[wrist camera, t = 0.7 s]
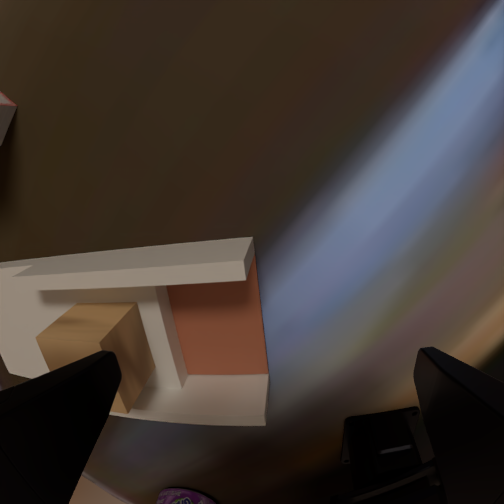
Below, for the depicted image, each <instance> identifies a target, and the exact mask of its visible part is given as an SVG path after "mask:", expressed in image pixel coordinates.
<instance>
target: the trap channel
mask: <svg viewBox="0 0 504 504" xmlns="http://www.w3.org/2000/svg"><path fill="white" fill-rule="evenodd" d="M116 302H137V304H138V308H139V311H140V315H141V319H142V323H143V326H144V330H145V333H146V337H147V340H148V343H149V347H150V350H151V353H152V357H153V360H154V363H155V366H156V367H155V369H154V370H153V372H152V374H151V376H150V377H149V379H148V381H147V382H146V384H145V386H144V387H143V389H142V391H141V393H140V394H139V396H138V398H137V400H136V401H135V403H134V405H133V406H132V408H131V410H130V412H129V413H128V414H124V413H117V412H111V411H110V413H109V414H110V415H116V416H122V417H129V418H136V419H144V420H153V421H162V422H172V423H184V424H199V425H221V426H266V418H267V408H268V398H269V387H270V379H269V370H268V362H267V353H266V344H265V336H264V327H263V319H262V310H261V301H260V293H259V284H258V276H257V267H256V259H255V250H254V242H253V237H245V238H233V239H222V240H211V241H201V242H190V243H180V244H169V245H159V246H149V247H139V248H129V249H119V250H109V251H100V252H90V253H81V254H72V255H62V256H53V257H44V258H36V259H27V260H18V261H10V262H1V263H0V354H1V356H2V358H3V361H4V363H5V365H6V367H7V369H8V371H9V373H11V374H15V375H19V376H23V377H27V378H32V379H33V378H35V377H38V376H40V375H43V374H45V373H48V372H50V371H49V369H48V366H47V364H46V362H45V360H44V357H43V355H42V353H41V350H40V348H39V346H38V343H37V341H36V338H35V337H36V336H37V335H39V334H40V333H41V332H42V331H43V330H45V329H46V328H47V327H48V326H49V325H51V324H52V323H53V322H54V321H55V320H57V319H58V318H59V317H60V316H62V315H63V314H64V313H65V312H67V311H68V310H69V309H70V308H71V307H73V306H74V305H75V304H76V303H116Z"/></svg>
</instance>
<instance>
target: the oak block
mask: <svg viewBox="0 0 504 504" xmlns="http://www.w3.org/2000/svg"><path fill="white" fill-rule="evenodd" d="M35 338H36V341H37V343H38V346H39V348H40V350H41V353H42V355H43V357H44V360H45V362H46V364H47V366H48V369H49V371H53V370H55V369H58V368H60V367H63V366H65V365H67V364H70V363H72V362H75V361H77V360H80V359H82V358H84V357H87V356H89V355H91V354H94V353H96V352H99V351H101V350H108V351H113V352H114V353H115V354H116V356H117V360H118V363H119V366H120V369H121V372H122V380H121V383H120V385H119V388H118V391H117V394H116V396H115V399H114V402H113V405H112V408H111V412H117V413H124V414H128V413H129V412H130V410H131V408H132V406H133V405H134V403H135V401H136V400H137V398H138V396H139V394H140V393H141V391H142V389H143V387H144V386H145V384H146V382H147V381H148V379H149V377H150V376H151V374H152V372H153V370H154V369H155V367H156V366H155V363H154V360H153V357H152V353H151V350H150V347H149V343H148V340H147V337H146V333H145V330H144V326H143V323H142V319H141V315H140V311H139V308H138V304H137V302H116V303H76V304H75V305H74V306H73V307H71V308H70V309H69V310H68V311H67V312H65V313H64V314H63V315H62V316H60V317H59V318H58V319H57V320H55V321H54V322H53V323H52V324H51V325H49V326H48V327H47V328H46V329H45V330H43V331H42V332H41V333H40V334H39V335H37V336H36V337H35Z"/></svg>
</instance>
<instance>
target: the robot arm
mask: <svg viewBox="0 0 504 504" xmlns="http://www.w3.org/2000/svg"><path fill="white" fill-rule="evenodd" d="M121 380H122V372H121V369H120V366H119V363H118V360H117V356H116V354H115V353H114V352H113V351H108V350H101V351H99V352H96V353H94V354H91V355H89V356H87V357H84V358H82V359H80V360H77V361H75V362H72V363H70V364H67V365H65V366H63V367H60V368H58V369H55V370H53V371H50V372H48V373H45V374H43V375H40V376H38V377H35V378H33V379H30V380H28V381H25V382H23V383H20V384H18V385H16V386H13V387H10V388H8V389H5V390H2V391H0V504H69V501H70V499H71V497H72V495H73V492H74V490H75V488H76V486H77V483H78V481H79V479H80V476H81V474H82V472H83V470H84V468H85V465H86V463H87V461H88V459H89V457H90V454H91V452H92V450H93V448H94V446H95V444H96V442H97V439H98V437H99V435H100V433H101V431H102V429H103V427H104V425H105V423H106V420H107V418H108V416H109V413H110V411H111V408H112V405H113V402H114V399H115V396H116V394H117V391H118V388H119V385H120V383H121ZM414 382H415V386H416V390H417V395H418V399H419V403H420V408H421V412H422V417H423V421H424V424H425V427H426V430H427V433H428V436H429V439H430V442H431V445H432V448H433V452H434V455H435V457H434V458H432V460H430V461H428V462H426V463H424V464H422V461H421V458H420V455H419V452H418V449H417V446H416V443H415V440H414V437H413V434H414V431H415V428H416V424H417V421H418V418H419V414H420V410H419V408H418V407H410V408H404V409H399V410H393V411H387V412H381V413H375V414H368V415H360V416H353V417H348V418H347V419H346V420H345V425H344V435H343V445H342V453H341V463H342V464H350V465H351V473H352V480H353V488H354V491H351V492H348V493H345V494H342V495H335V496H331V498H330V504H504V383H503V382H501V381H499V380H497V379H495V378H493V377H491V376H489V375H487V374H486V373H484V372H482V371H480V370H478V369H476V368H474V367H472V366H470V365H468V364H466V363H464V362H462V361H460V360H458V359H456V358H454V357H452V356H450V355H448V354H446V353H444V352H442V351H440V350H438V349H436V348H434V347H425V348H420V349H419V351H418V354H417V359H416V364H415V368H414ZM350 422H351V423H350Z"/></svg>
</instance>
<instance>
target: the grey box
mask: <svg viewBox="0 0 504 504" xmlns="http://www.w3.org/2000/svg"><path fill="white" fill-rule="evenodd" d="M16 108H17V105H16V104H14V103H13V102H12V101H11V100H10V99H8V98H7V97H6V96H5V95H4V94H3V93H1V92H0V146H1V145H2V142H3V140H4V137H5V134H6V132H7V129H8V127H9V125H10V122H11V120H12V117H13V115H14V113H15V111H16Z"/></svg>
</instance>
